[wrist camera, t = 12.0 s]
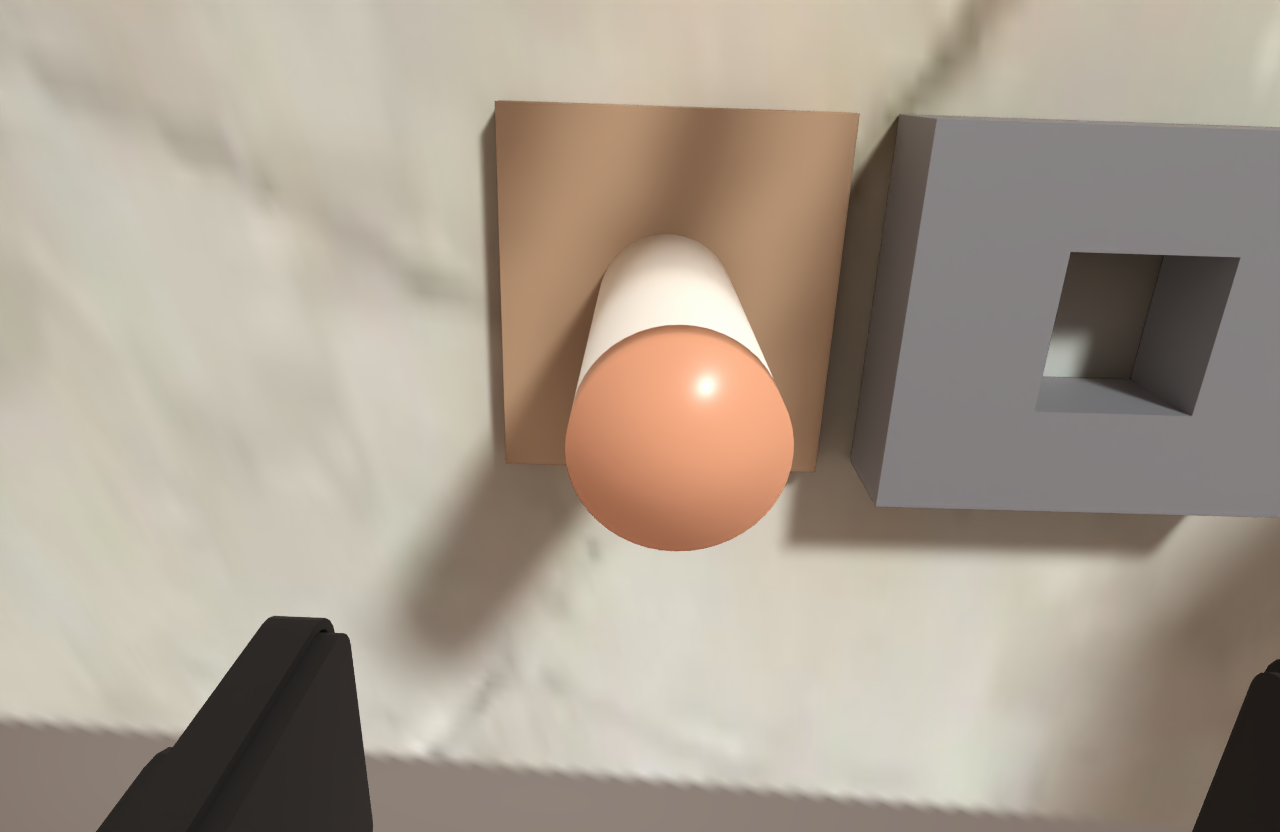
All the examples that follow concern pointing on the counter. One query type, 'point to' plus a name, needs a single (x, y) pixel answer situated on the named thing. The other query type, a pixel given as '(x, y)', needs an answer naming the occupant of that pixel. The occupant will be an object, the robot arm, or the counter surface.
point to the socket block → (1026, 310)
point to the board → (665, 204)
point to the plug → (675, 404)
